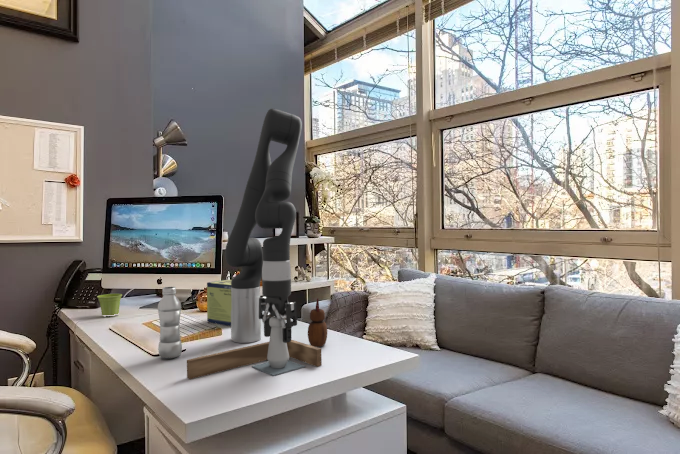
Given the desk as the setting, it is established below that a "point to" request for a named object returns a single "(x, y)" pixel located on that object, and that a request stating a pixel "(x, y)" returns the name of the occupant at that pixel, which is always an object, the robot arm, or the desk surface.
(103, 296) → the plant pot
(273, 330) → the salt shaker
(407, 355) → the desk surface
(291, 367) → the pad
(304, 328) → the desk surface
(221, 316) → the protein box
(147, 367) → the desk surface
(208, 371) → the wooden l-shaped bracket
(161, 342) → the plastic bottle
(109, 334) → the desk surface
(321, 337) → the wooden figurine
